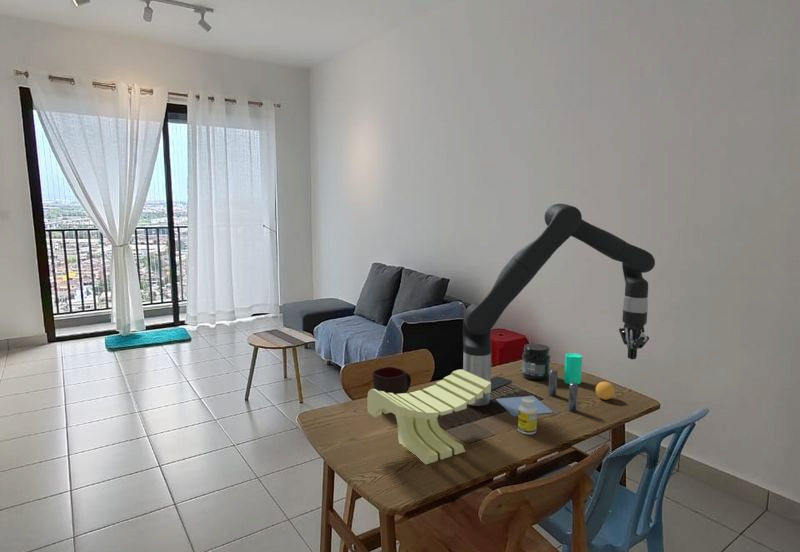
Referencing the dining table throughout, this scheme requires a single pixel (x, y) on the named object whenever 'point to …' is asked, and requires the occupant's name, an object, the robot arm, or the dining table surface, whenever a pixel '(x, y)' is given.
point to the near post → (573, 397)
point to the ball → (605, 390)
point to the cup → (391, 380)
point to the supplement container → (536, 362)
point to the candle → (573, 368)
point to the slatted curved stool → (429, 413)
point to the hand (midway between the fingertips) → (631, 358)
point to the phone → (498, 382)
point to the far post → (552, 382)
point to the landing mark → (515, 402)
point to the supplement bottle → (527, 416)
